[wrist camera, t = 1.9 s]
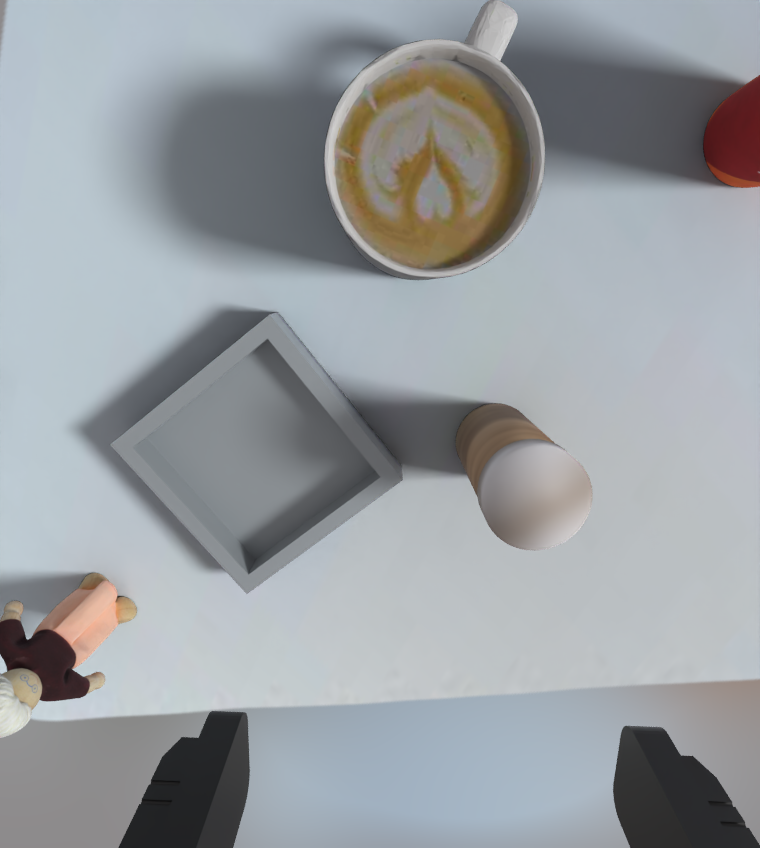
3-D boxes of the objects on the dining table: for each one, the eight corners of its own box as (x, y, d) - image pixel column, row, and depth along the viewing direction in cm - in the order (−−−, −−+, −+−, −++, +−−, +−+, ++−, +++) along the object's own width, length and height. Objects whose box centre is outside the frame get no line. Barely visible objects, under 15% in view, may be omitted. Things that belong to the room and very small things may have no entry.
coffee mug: (435, 311, 37) (455, 320, 28) (306, 215, 36) (280, 190, 26) (570, 126, 35) (644, 65, 25) (437, 16, 33) (461, -95, 24)
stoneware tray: (129, 432, 39) (109, 444, 36) (278, 312, 37) (269, 314, 34) (256, 572, 41) (246, 594, 39) (401, 465, 40) (402, 479, 37)
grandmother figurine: (160, 605, 42) (69, 739, 30) (131, 642, 43) (31, 787, 30) (68, 545, 41) (-65, 657, 29) (40, 583, 42) (-102, 709, 29)
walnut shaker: (438, 434, 39) (460, 490, 28) (504, 385, 38) (552, 424, 28) (484, 494, 40) (523, 570, 29) (549, 448, 39) (613, 508, 29)
